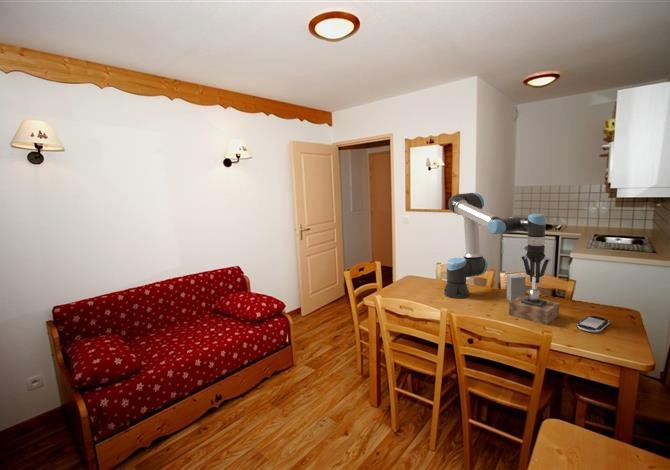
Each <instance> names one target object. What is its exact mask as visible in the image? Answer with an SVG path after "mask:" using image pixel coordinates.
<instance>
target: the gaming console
mask: <svg viewBox="0 0 670 470" xmlns="http://www.w3.org/2000/svg"><path fill="white" fill-rule="evenodd" d="M608 325H610V320H609V319H607V318H606V317H605V318H604V317H601V316H597V315H590V316H586V317H584V318H583V319H581V320H580V321H578V323H577V324H576V328H577V329H578V330H580V331H582V332H586V333H589V334H590V333H591V334H597V333H600V332H602V331H603V330H604V329H605V328H607V326H608Z"/></svg>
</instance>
